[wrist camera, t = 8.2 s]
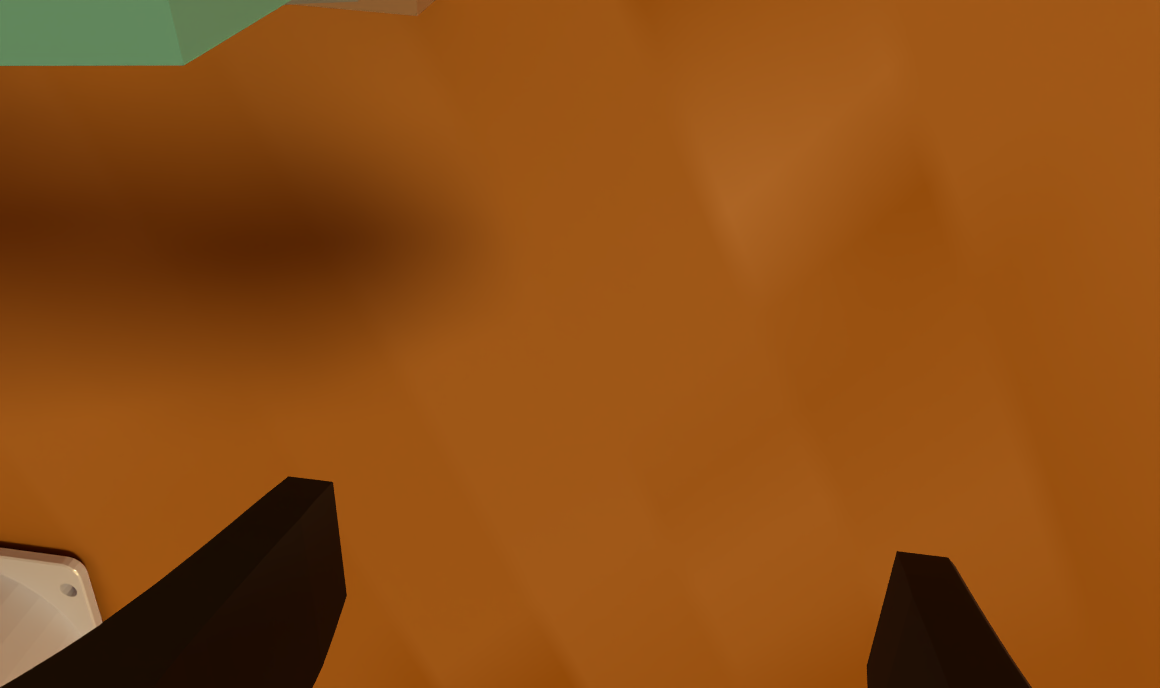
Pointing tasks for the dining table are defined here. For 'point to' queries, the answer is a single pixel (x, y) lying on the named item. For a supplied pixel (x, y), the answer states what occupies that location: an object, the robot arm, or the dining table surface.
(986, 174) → the dining table surface
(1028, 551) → the dining table surface
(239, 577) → the robot arm
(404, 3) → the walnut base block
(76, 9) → the teal cube
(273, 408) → the dining table surface
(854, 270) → the dining table surface
